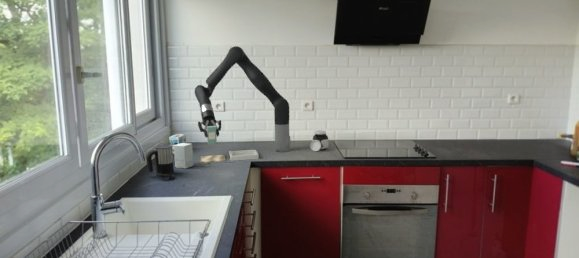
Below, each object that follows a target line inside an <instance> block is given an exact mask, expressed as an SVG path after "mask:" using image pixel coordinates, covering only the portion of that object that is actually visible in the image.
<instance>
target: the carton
mask: <svg viewBox="0 0 579 258" xmlns="http://www.w3.org/2000/svg"><path fill="white" fill-rule="evenodd" d="M207 135H208V137H207V145H210V146H211V145H217V144H218V143H217V141H218V140H217V135H216V126H207Z"/></svg>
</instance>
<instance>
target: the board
mask: <svg viewBox="0 0 579 258" xmlns="http://www.w3.org/2000/svg"><path fill="white" fill-rule="evenodd" d="M226 159H227V158H226V157H225V154H218V155H217V154H215V155H203V156H201V155H200V164H201V165H202V164H210V163H215V162H216V163H217V162H218V163H219V162H226V161H227V160H226Z"/></svg>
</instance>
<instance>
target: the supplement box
mask: <svg viewBox="0 0 579 258" xmlns="http://www.w3.org/2000/svg"><path fill="white" fill-rule="evenodd" d="M173 156H174V166H175V167H176V168H177V169H184V170H185V169H188V168H190V167H193V166H194V164H195V163H194V151H193V143H188V142H186V143H180V144H177V145H174V154H173Z"/></svg>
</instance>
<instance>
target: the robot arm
mask: <svg viewBox="0 0 579 258" xmlns="http://www.w3.org/2000/svg"><path fill="white" fill-rule="evenodd" d="M236 64H237V65H238V66H239V67H240V68H241V69H242V71H243V72H244V74H245V76H246V77H247V78H248V80H249V82H250V83H251V84H252V85H253V86H254V87H255V89H257V90H258V91H259V92H260V93H261V94H262V95H263V96H265V97H266V98H267V100H269V102H270V103H271V105H272V106H273V108H274V109H273V110H274V111H273V112H274V143H275V144H274V148H275V149H274V150H275V152H279V153H284V152H285V153H286V152H290V151H291V135H290V104H289V102H288V100H287V99H286V98H285V97H284V96H282V95H281V94H280V93H279V92H278V91H277V89H276V88H275V87H274V86H273V84H272V82H271V81H270V80H269V79H268V77H267V76H266V75H265V74H264V72H262V71H261V69H260V68H259V67H257V66H256V64H254V63H253V62H252V61H251V60H250V58H249V57H248V56H247V54H246V53H245V51H244V50H243V48H241V46H238V45H237V46H232V47H230V49H229V50H228V51H227V53H226V55H225V56H224V59H223V60H222V62H220V64H219V65H218V66H217V68H215V69H214V70H213V72H211V74H210V75H209V76H208V77H207V79H206V80H205V84H207V87H206V86H204V85H202V84H199V85H197V86H196V87H195V88H194V95H195V98H196V99H197V101H198V103H199V104H198V105H199V109H200V110H199V111H200V115H201V119H202V120H201V121H197V126H198V128H199V131H200V132H201V133H203V134H204V137H205V138H207V137H208V135H207V126H216V138H217V137H219V136H220V131H221V130H222V120H221V119H219V120H216V117H215V111H214V108H213V105H212V101H211V99H210V98H211V97H212V94H214V93H213V92H214V90H215V88H216V87H217V86H218V84H219V83H221V81H222V80H223V79H224V77H225V76H226V75H227V73H228V72H229V71H230V69H232V67H234V65H236ZM202 125H203V126H204V128H203V126H202ZM207 139H208V138H207Z"/></svg>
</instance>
